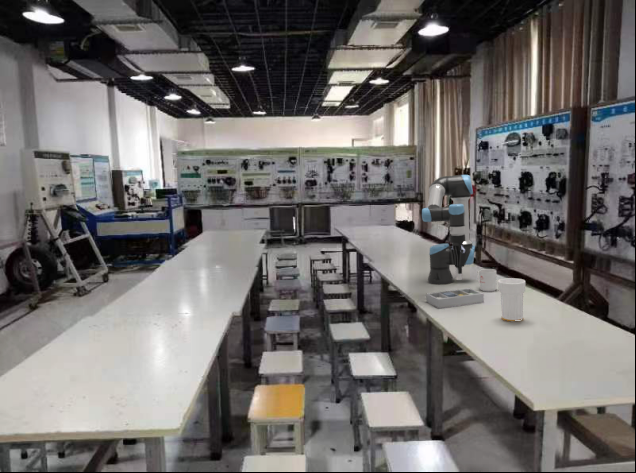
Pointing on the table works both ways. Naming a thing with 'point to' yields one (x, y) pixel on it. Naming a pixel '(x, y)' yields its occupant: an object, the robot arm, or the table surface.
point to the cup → (511, 298)
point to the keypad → (455, 298)
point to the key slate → (449, 294)
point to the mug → (487, 279)
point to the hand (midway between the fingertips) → (459, 279)
